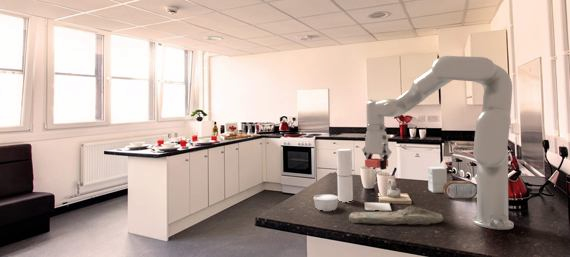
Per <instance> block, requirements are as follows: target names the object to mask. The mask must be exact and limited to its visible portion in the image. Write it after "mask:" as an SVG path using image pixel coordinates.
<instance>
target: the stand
mask: <svg viewBox="0 0 570 257" xmlns="http://www.w3.org/2000/svg"><path fill="white" fill-rule="evenodd" d="M390 188H391V189H388V188H387V189H386V193H387V196H382V195H380V193H381V192H378V193H377V197H378V196H379V197H378V201H379V203H389V204H391V203H392V204H393V205H394V204H395V205H397V204H398V205H399V204H400V205H412V204H413V203H412V199H411V198H410V196H409V194H408V193H402V192H401V188H397V181H396V180H391V181H390Z"/></svg>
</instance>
